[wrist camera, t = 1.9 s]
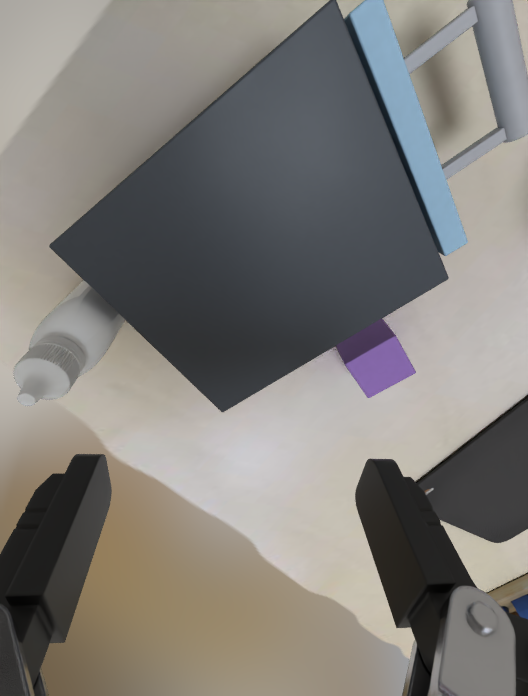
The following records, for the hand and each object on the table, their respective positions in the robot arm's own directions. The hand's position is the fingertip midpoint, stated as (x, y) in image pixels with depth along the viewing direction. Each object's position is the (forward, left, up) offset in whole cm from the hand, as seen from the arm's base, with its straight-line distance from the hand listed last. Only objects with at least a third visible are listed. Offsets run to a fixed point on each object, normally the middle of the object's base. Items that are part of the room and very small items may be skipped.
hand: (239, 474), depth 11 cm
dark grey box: (-3, +3, -17) cm, 17 cm away
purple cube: (+10, +5, -17) cm, 21 cm away
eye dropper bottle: (-5, -8, -17) cm, 19 cm away
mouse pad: (+37, +13, -17) cm, 43 cm away
